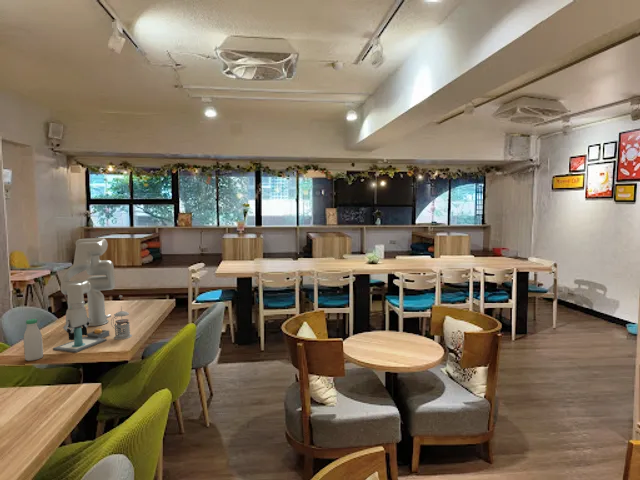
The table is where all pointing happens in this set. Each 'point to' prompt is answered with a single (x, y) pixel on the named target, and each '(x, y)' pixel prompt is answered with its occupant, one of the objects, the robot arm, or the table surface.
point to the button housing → (100, 335)
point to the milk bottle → (33, 341)
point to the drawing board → (86, 344)
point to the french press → (121, 326)
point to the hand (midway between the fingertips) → (78, 337)
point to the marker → (78, 336)
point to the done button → (97, 331)
